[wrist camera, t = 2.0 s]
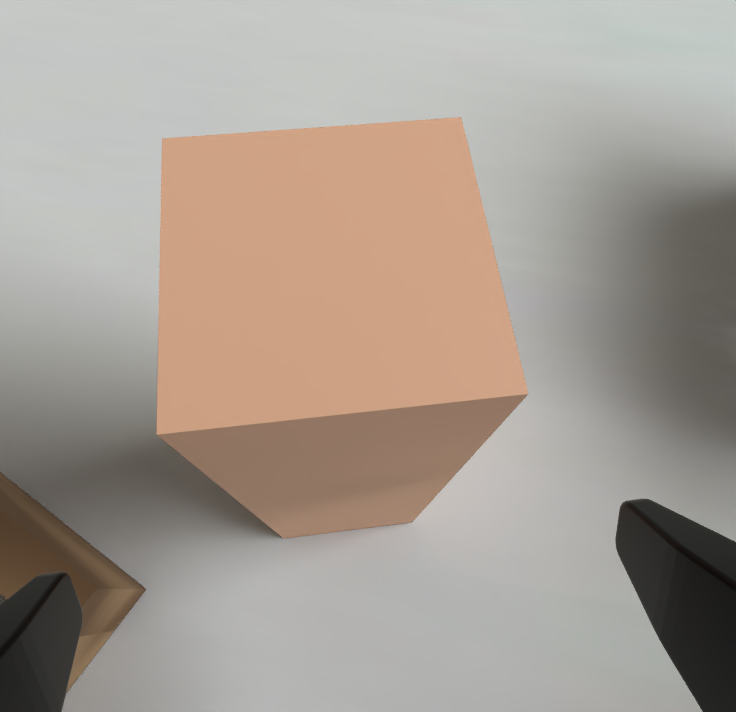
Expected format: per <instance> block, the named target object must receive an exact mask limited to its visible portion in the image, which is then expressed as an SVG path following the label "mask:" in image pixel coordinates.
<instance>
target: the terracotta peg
mask: <svg viewBox="0 0 736 712" xmlns="http://www.w3.org/2000/svg"><path fill="white" fill-rule="evenodd" d="M527 395H528V390H527V386H526V382H525V378H524V374H523V370H522V366H521V361H520V357H519V353H518V349H517V345H516V341H515V337H514V333H513V329H512V324H511V320H510V316H509V312H508V308H507V304H506V300H505V296H504V292H503V287H502V283H501V279H500V275H499V271H498V267H497V263H496V259H495V255H494V250H493V246H492V242H491V238H490V234H489V230H488V226H487V222H486V218H485V213H484V209H483V205H482V201H481V197H480V193H479V189H478V185H477V181H476V176H475V172H474V168H473V164H472V160H471V156H470V152H469V148H468V144H467V139H466V135H465V131H464V127H463V123H462V119H461V117H459V118H445V119H431V120H417V121H403V122H389V123H375V124H360V125H346V126H332V127H318V128H304V129H290V130H276V131H262V132H248V133H234V134H220V135H206V136H192V137H178V138H164V139H162V173H161V227H160V280H159V333H158V387H157V435H158V436H159V437H160V438H161V439H162V440H164V441H165V442H166V443H167V444H169V445H170V446H171V447H172V448H173V449H175V450H176V451H177V452H178V453H180V454H181V455H182V456H183V457H184V458H186V459H187V460H188V461H189V462H191V463H192V464H193V465H194V466H195V467H197V468H198V469H199V470H200V471H202V472H203V473H204V474H205V475H207V476H208V477H209V478H210V479H211V480H213V481H214V482H215V483H216V484H218V485H219V486H220V487H221V488H222V489H224V490H225V491H226V492H227V493H229V494H230V495H231V496H232V497H233V498H235V499H236V500H237V501H238V502H240V503H241V504H242V505H243V506H244V507H246V508H247V509H248V510H249V511H251V512H252V513H253V514H254V515H255V516H257V517H258V518H259V519H260V520H262V521H263V522H264V523H265V524H266V525H268V526H269V527H270V528H271V529H273V530H274V531H275V532H276V533H277V534H279V535H280V536H281V537H282V538H291V537H299V536H307V535H315V534H323V533H331V532H339V531H347V530H355V529H363V528H371V527H379V526H387V525H395V524H403V523H411V522H413V521H414V520H415V519H416V517H417V516H418V515H419V514H420V513H421V512H422V511H423V510H424V509H425V507H426V506H427V505H428V504H429V503H430V502H431V501H432V500H433V499H434V498H435V496H436V495H437V494H438V493H439V492H440V491H441V490H442V489H443V488H444V487H445V485H446V484H447V483H448V482H449V481H450V480H451V479H452V478H453V477H454V475H455V474H456V473H457V472H458V471H459V470H460V469H461V468H462V467H463V466H464V464H465V463H466V462H467V461H468V460H469V459H470V458H471V457H472V456H473V455H474V453H475V452H476V451H477V450H478V449H479V448H480V447H481V446H482V445H483V443H484V442H485V441H486V440H487V439H488V438H489V437H490V436H491V435H492V434H493V432H494V431H495V430H496V429H497V428H498V427H499V426H500V425H501V424H502V423H503V421H504V420H505V419H506V418H507V417H508V416H509V415H510V414H511V413H512V411H513V410H514V409H515V408H516V407H517V406H518V405H519V404H520V403H521V402H522V400H523V399H524V398H525V397H526V396H527Z"/></svg>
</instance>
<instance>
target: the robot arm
mask: <svg viewBox="0 0 736 712" xmlns="http://www.w3.org/2000/svg"><path fill="white" fill-rule="evenodd" d="M616 548H617V552H618V555H619V557H620V559H621V561H622V563H623V565H624V567H625V569H626V571H627V574H628V576H629V578H630V580H631V582H632V584H633V586H634V588H635V590H636V592H637V594H638V597H639V599H640V601H641V603H642V605H643V607H644V609H645V611H646V613H647V615H648V617H649V620H650V622H651V624H652V626H653V628H654V630H655V632H656V634H657V636H658V637H659V639H660V641H661V643H662V645H663V646H664V648H665V650H666V652H667V653H668V655H669V657H670V658H671V660H672V662H673V663H674V665H675V667H676V668H677V670H678V671H679V673H680V675H681V676H682V678H683V680H684V681H685V683H686V685H687V686H688V688H689V690H690V691H691V693H692V695H693V696H694V698H695V699H696V701H697V703H698V704H699V706H700V708H701V709H702V711H703V712H736V542H734V541H732V540H730V539H728V538H726V537H724V536H722V535H720V534H718V533H716V532H714V531H712V530H710V529H708V528H706V527H704V526H702V525H700V524H698V523H696V522H694V521H692V520H690V519H688V518H686V517H684V516H682V515H680V514H678V513H676V512H674V511H672V510H670V509H668V508H666V507H664V506H662V505H660V504H658V503H655V502H653V501H651V500H649V499H637V500H629V501H625V502H623V503H622V505H621V506H620V511H619V518H618V525H617V532H616ZM82 622H83V613H82V608H81V605H80V602H79V599H78V597H77V594H76V591H75V588H74V585H73V582H72V580H71V577H70V575H69V574H68V573H66V572H62V571H61V572H53V573H45V574H40V575H38V576H36V577H34V578H33V579H32V580H30V581H29V582H28V583H27V584H26V585H24V586H23V587H22V588H21V589H19V590H18V591H17V592H16V593H14V594H13V595H12V596H11V597H9V598H8V599H7V600H6V601H5V602H3V603H2V604H1V605H0V712H62V708H63V704H64V699H65V695H66V691H67V687H68V683H69V678H70V674H71V670H72V666H73V662H74V657H75V653H76V649H77V645H78V641H79V636H80V632H81V628H82Z"/></svg>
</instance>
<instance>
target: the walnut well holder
mask: <svg viewBox="0 0 736 712" xmlns="http://www.w3.org/2000/svg"><path fill="white" fill-rule="evenodd" d="M61 571H62V572H66V573H68V574H69V575H70V577H71V580H72V582H73V585H74V588H75V591H76V594H77V597H78V599H79V602H80V605H81V608H82V613H83V622H82V628H81V632H80V636H79V641H78V645H77V649H76V653H75V657H74V662H73V666H72V670H71V674H70V678H69V683H68V687H67V691H66V693H67V692H68V690H69V689H70V688H71V686H72V685H73V684H74V683H75V681H76V680H77V679H78V677H79V676H80V675H81V673H82V672H83V671H84V670H85V668H86V667H87V666H88V664H89V663H90V662H91V660H92V659H93V658H94V657H95V655H96V654H97V653H98V651H99V650H100V649H101V647H102V646H103V645H104V644H105V642H106V641H107V640H108V638H109V637H110V636H111V634H112V633H113V632H114V631H115V629H116V628H117V627H118V625H119V624H120V623H121V621H122V620H123V619H124V617H125V616H126V615H127V614H128V612H129V611H130V610H131V608H132V607H133V606H134V604H135V603H136V602H137V601H138V599H139V598H140V597H141V595H142V594H143V593H144V591H145V590H146V589H145V588H144V587H143V586H142V585H140V584H139V583H138V582H137V581H135V580H134V579H133V578H132V577H130V576H129V575H128V574H127V573H125V572H124V571H123V570H122V569H120V568H119V567H118V566H117V565H115V564H114V563H113V562H112V561H110V560H109V559H108V558H107V557H105V556H104V555H103V554H102V553H100V552H99V551H98V550H97V549H95V548H94V547H93V546H92V545H90V544H89V543H88V542H87V541H85V540H84V539H83V538H82V537H80V536H79V535H78V534H77V533H75V532H74V531H73V530H72V529H70V528H69V527H68V526H67V525H65V524H64V523H63V522H62V521H60V520H59V519H58V518H57V517H55V516H54V515H53V514H52V513H50V512H49V511H48V510H47V509H45V508H44V507H43V506H42V505H40V504H39V503H38V502H37V501H35V500H34V499H33V498H32V497H30V496H29V495H28V494H27V493H25V492H24V491H23V490H22V489H20V488H19V487H18V486H17V485H15V484H14V483H13V482H12V481H10V480H9V479H8V478H7V477H5V476H4V475H3V474H2V473H0V594H1V595H2V596H3V597H5V598H6V599H8V598H9V597H11V596H12V595H13V594H14V593H16V592H17V591H18V590H19V589H21V588H22V587H23V586H24V585H26V584H27V583H28V582H29V581H30V580H32V579H33V578H34V577H36V576H38V575H40V574H45V573H53V572H61Z"/></svg>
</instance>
